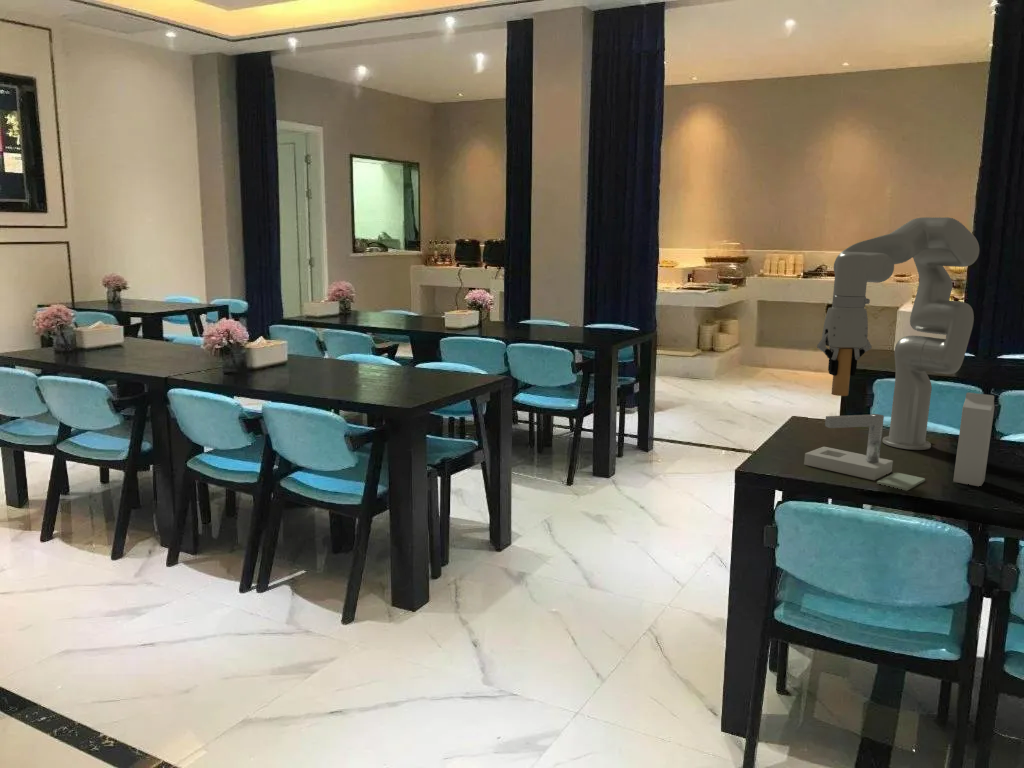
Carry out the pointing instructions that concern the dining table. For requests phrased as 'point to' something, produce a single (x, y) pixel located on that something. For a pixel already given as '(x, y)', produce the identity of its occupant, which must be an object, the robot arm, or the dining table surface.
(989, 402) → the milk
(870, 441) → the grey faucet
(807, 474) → the dining table surface
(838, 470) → the gray rectangular base
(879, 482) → the mat
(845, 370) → the tan rectangular bar
